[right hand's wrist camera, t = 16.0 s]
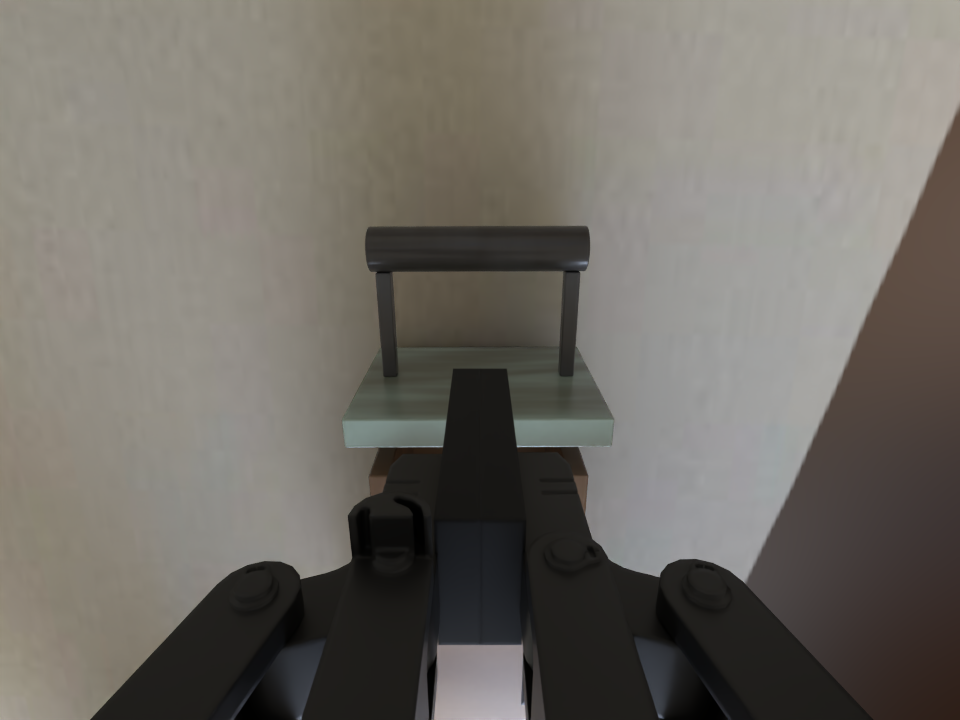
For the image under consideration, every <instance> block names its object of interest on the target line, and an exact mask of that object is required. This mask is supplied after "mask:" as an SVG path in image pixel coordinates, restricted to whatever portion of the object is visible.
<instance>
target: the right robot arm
mask: <svg viewBox="0 0 960 720" xmlns="http://www.w3.org/2000/svg"><path fill="white" fill-rule="evenodd" d="M348 522H349V532H350V541H351V550H352V560H351V562H350V563H349V564H347V565H345V566H343V567H341V568H339V569H337V570H334V571H331V572H328V573H325V574H321V575H317V576H313V577H309V578H305V579H301V580H300V575H299V574H298V573H297V571H296V570H295V569H294V568H293V567H292V566H290V565H287V564H285V563H282V562H274V561H264V562H259V563H255V564H251V565H247V566H245V567H243V568H241V569H239V570H237V571H234V572H232V573H231V574H229V575H228V576H227V577H226V578H224V579H223V580H222V581H221V582H220V583H218V584H217V585H216V586H215V587H214V588H213V589H212V590H211V592H210V593H209V594H208V595H207V596H206V597H205V598H204V599H203V600H202V601H201V602H200V603H199V604H198V605H197V606H196V608H195V609H194V610H193V611H192V612H191V613H190V614H189V615H188V616H187V617H186V618H185V619H184V620H183V621H182V622H181V623H180V625H179V626H178V627H177V628H176V629H175V630H174V631H173V632H172V633H171V634H170V635H169V636H168V637H167V638H166V639H165V641H164V642H163V643H162V644H161V645H160V646H159V647H158V648H157V649H156V650H155V651H154V652H153V653H152V654H151V655H150V657H149V658H148V659H147V660H146V661H145V662H144V663H143V664H142V665H141V666H140V667H139V668H138V669H137V670H136V671H135V673H134V674H133V675H132V676H131V677H130V678H129V679H128V680H127V681H126V682H125V683H124V684H123V685H122V686H121V687H120V688H119V690H118V691H117V692H116V693H115V694H114V695H113V696H112V697H111V698H110V699H109V700H108V701H107V702H106V703H105V704H104V706H103V707H102V708H101V709H100V710H99V711H98V712H97V713H96V714H95V715H94V716H93V717H92V718H91V719H90V720H434V714H435V702H436V689H437V676H438V669H437V645H522V642H523V669H522V694H521V705H525V714H526V720H873V719H872V718H871V717H870V716H869V715H868V714H867V713H866V711H865V710H864V709H863V708H862V707H861V706H860V705H859V704H858V703H857V702H856V701H855V700H854V699H853V698H852V697H851V696H850V695H849V694H848V693H847V691H846V690H845V689H844V688H843V687H842V686H841V685H840V684H839V683H838V682H837V681H836V680H835V679H834V678H833V677H832V675H831V674H830V673H829V672H828V671H827V670H826V669H825V668H824V667H823V666H822V665H821V664H820V663H819V662H818V661H817V660H816V659H815V657H814V656H813V655H812V654H811V653H810V652H809V651H808V650H807V649H806V648H805V647H804V646H803V645H802V644H801V643H800V642H799V641H798V640H797V638H796V637H795V636H794V635H793V634H792V633H791V632H790V631H789V630H788V629H787V628H786V627H785V626H784V625H783V624H782V623H781V622H780V620H779V619H778V618H777V617H776V616H775V615H774V614H773V613H772V612H771V611H770V610H769V609H768V608H767V607H766V606H765V605H764V604H763V603H762V601H761V600H760V599H759V598H758V597H757V596H756V595H755V594H754V593H753V592H752V591H751V590H750V589H749V588H748V587H747V586H746V584H745V583H744V582H743V581H741V580H740V579H739V578H738V577H736V576H735V575H734V574H733V573H731V572H730V571H729V570H726V569H724V568H722V567H720V566H718V565H716V564H714V563H711V562H706V561H702V560H698V559H681V560H678V561H675V562H673V563H670V564H668V565H667V566H666V567H665V568H664V570H663V571H662V572H661V575H660V577H656V576H652V575H648V574H643V573H639V572H635V571H632V570H629V569H626V568H623V567H621V566H619V565H617V564H615V563H613V562H611V561H610V560H609V559H608V557H607V555H606V553H605V552H604V550H603V548H602V547H601V546H600V545H599V544H598V543H596V542H595V541H594V540H592V537H591V534H590V530H589V527H588V524H587V520H586V517H585V514H584V510H583V507H582V503H581V500H580V497H579V494H578V490H577V486H576V483H575V482H574V476H573V473H572V470H571V466H570V464H569V463H568V462H567V461H566V460H565V459H564V458H563V457H562V456H561V455H560V454H559V453H558V452H518V451H517V443H516V435H515V427H514V420H513V412H512V404H511V396H510V389H509V381H508V373H507V369H453V373H452V381H451V389H450V396H449V404H448V412H447V420H446V427H445V435H444V443H443V451H442V454H402V455H401V456H400V457H399V458H398V459H397V460H396V461H395V462H394V463H393V464H392V465H391V466H390V468H389V472H388V475H387V478H386V484H385V485H384V489H383V492H382V493H379V494H376V495H373V496H370V497H368V498H365V499H364V500H362V501H361V502H360V503H358V504H357V505H355V506H354V508H353V509H352V510H351V512H350V513H349V515H348Z"/></svg>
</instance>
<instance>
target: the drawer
mask: <svg viewBox="0 0 960 720" xmlns="http://www.w3.org/2000/svg"><path fill="white" fill-rule="evenodd" d="M365 251H366V260H367V265H368V268H369V270H370V271H371V272H377V273H376V286H377V299H378V313H379V326H380V340H381V348H380V349H379V351H378V353H377V355H376V357H375V359H374V361H373V363H372V364H371V366H370V368H369V370H368V372H367V374H366V376H365V378H364V379H363V381H362V383H361V385H360V387H359V389H358V391H357V393H356V394H355V396H354V398H353V400H352V402H351V404H350V406H349V408H348V409H347V411H346V413H345V415H344V417H343V419H342V425H343V434H344V443H345V447H347V448H352V447H379V449H378V452H377V455H376V458H375V460H374V463H373V466H372V469H371V472H370V475H369V484H370V495H371V496H373V495H376V494H379V493H382V492H383V489H384V485H385V484H386V478H387V475H388V472H389V468H390V466H391V465H392V464H393V463H394V462H395V461H396V460H397V459H398V458H399V457H400V456H401V455H402V454H442V451H443V443H444V435H445V427H446V420H447V412H448V404H449V396H450V389H451V381H452V373H453V369H507V373H508V381H509V389H510V396H511V404H512V412H513V420H514V427H515V435H516V443H517V451H518V452H558V453H559V454H560V455H561V456H562V457H563V458H564V459H565V460H566V461H567V462H568V463H569V464H570V466H571V470H572V473H573V476H574V482H575V483H576V486H577V490H578V494H579V497H580V500H581V503H582V507H583V510H584V514H585V509H586V497H587V484H588V474H587V471H586V468H585V465H584V462H583V459H582V456H581V453H580V451H579V448H578V447H610V446H611V445H612V437H613V427H614V418H613V416H612V414H611V412H610V410H609V408H608V406H607V404H606V402H605V400H604V398H603V397H602V395H601V393H600V391H599V389H598V387H597V385H596V383H595V381H594V379H593V377H592V375H591V373H590V371H589V370H588V368H587V366H586V364H585V362H584V360H583V358H582V356H581V354H580V352H579V350H578V348H577V347H575V345H576V330H577V314H578V299H579V284H580V272H579V271H585V270H586V269H587V266H588V262H589V255H590V235H589V230H588V227H587V226H416V227H368V229H367V232H366V239H365ZM452 271H563V289H562V308H561V327H560V346H559V347H426V348H397V338H396V322H395V306H394V291H393V275H392V272H452Z"/></svg>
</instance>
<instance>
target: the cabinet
mask: <svg viewBox="0 0 960 720" xmlns="http://www.w3.org/2000/svg"><path fill="white" fill-rule="evenodd" d="M437 669H438V676H437V689H436V702H435V714H434V720H526V714H525V705H521V694H522V669H523V642H522V645H437Z"/></svg>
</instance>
